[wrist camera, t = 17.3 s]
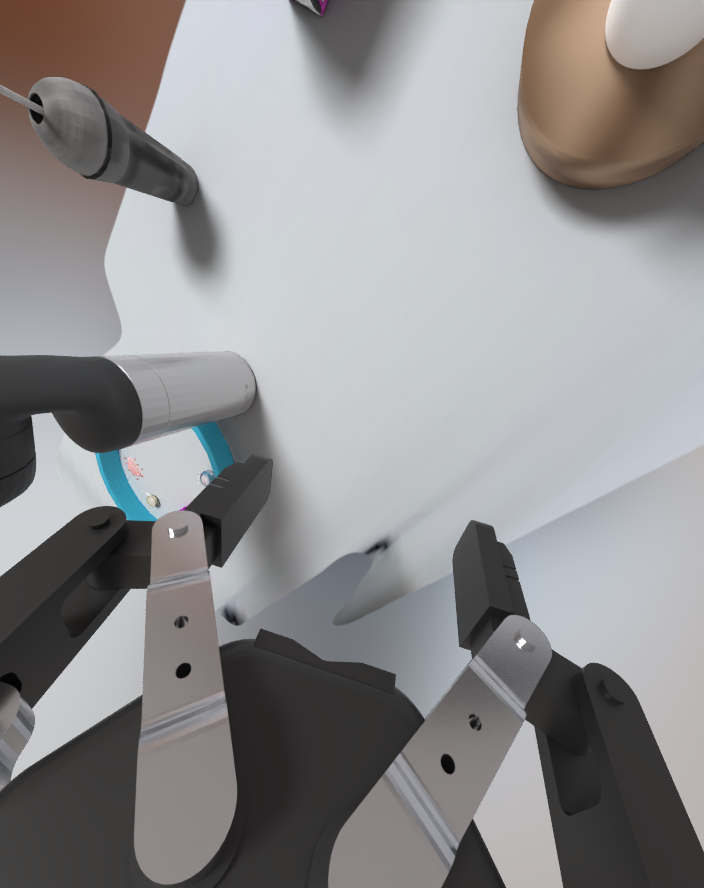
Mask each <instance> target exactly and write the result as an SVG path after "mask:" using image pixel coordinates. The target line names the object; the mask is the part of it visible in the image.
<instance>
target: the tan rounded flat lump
mask: <svg viewBox="0 0 704 888" xmlns="http://www.w3.org/2000/svg"><path fill="white" fill-rule="evenodd" d="M610 2H611V0H534V3H533V6H532V9H531V13H530V17H529V20H528V24H527V28H526V35H525V41H524V47H523V56H522V65H521V74H520V82H519V91H518V107H517V111H518V124H519V129H520V134H521V138H522V141H523V143H524V146H525V149H526V151H527V152H528V154H529V156H530V158H531V159H532V161H533V162H534V163H535V164H536V165H537V167H538V168H539V169H540V170H541V171H542V172H544V173H545V174H546V175H547V176H549V177H550V178H552V179H554V180H555V181H557V182H559V183H562V184H565V185H567V186H570V187H575V188H581V189H596V190H597V189H608V188H615V187H619V186H624V185H628V184H631V183H634V182H637V181H640V180H643V179H645V178H648V177H650V176H652V175H654V174H656V173H659V172H661V171H662V170H664V169H666V168H668V167H669V166H671V165H673V164H675V163H676V162H678V161H679V160H681V159H682V158H684V157H685V156H687V155H688V154H689V153H691V152H692V151H694V150H695V149H696V148H697V147H699V146H700V145H701V144H702V143H703V142H704V38H703V39H702V40H701V41H700V42H699V43H698V44H697V45H696V46H694V47H693V48H692V49H691V50H689V51H688V52H686V53H685V54H684V55H682V56H680V57H679V58H677V59H675V60H673V61H671V62H669V63H667V64H665V65H662V66H659V67H655V68H651V69H632V68H628V67H625V66H623V65H621V64H620V63H618V62H617V61H616V60H615V59H614V58H613V56H612V55H611V53H610V51H609V49H608V47H607V43H606V37H605V25H606V18H607V13H608V9H609V6H610Z"/></svg>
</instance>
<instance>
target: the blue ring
mask: <svg viewBox="0 0 704 888" xmlns="http://www.w3.org/2000/svg"><path fill="white" fill-rule="evenodd" d="M192 429H193V431H194V432H195V433H196V435H197V437H198V438H199V440H200V442H201V444H202V445H203V447H204V449H205V451H206V452H207V454H208V457H209V460H210V463H211V466H212V469H213V471H214V472H213V471H210V470H207V471H204V472H203V473H202V474H201V476H200V474H199V473H198V478H199V477H200V478H199V479H198V481H199V483H200V480H201V482H202V484H203V485H205V486H208V485H210V483H211V482H212V481H213V480H214V479H215V478H217V476H218V475H219V474H220V473H221V471H222V470H223V469H224V468H226V467H228V466H230V465H232V464H234V461H233V458H232V455H231V452H230V449H229V446H228V444H227V442H226V440H225V439H224V437H223V435H222V433H221V432H220V430H219V428H218V426H217V424H216V423H215V422H211V423H208V424H204V425H201V426H197V427H194V428H192ZM95 455H96V459H97V462H98V466H99V470H100V473H101V476H102V478H103V480H104V483H105V485H106V488H107V490H108V492H109V494H110V495H111V497H112V499H113V500H114V502H115V504H116V505H117V507H118V508H119V509H121V510H123V511H124V512H125V514H126V518H127V520H135V521H157V519H156V518H155V517H154V516H153V515H151V514H150V513H149V511H148V510H147V509H146V508H145V507H144V505H143V504H142V503H141V502H140V501H139V499H138V498H137V496H136V495H135V493H134V491H133V490H132V488H131V486H130V485H129V483H128V480H127V478H126V475H125V473H124V470H123V468H122V465H121V461H120V456H119V452H118V450H115V451H111V452H107V453H95ZM125 458H126V457H124V459H125ZM127 460H128V464H129V465H128V468H129V471H131V473H132V475H133V476H134V475H136V476H140V474H141V473H140V471H139V469H138V468H137V466H136V465H138V464H136V465H135V463H134V462H133V460H132V459H131V458H128V459H127ZM134 460H135V458H134ZM125 464H127V463H125ZM141 470H142V468H141ZM141 477H143V475H141ZM137 480H138V478H137ZM199 485H200V484H199ZM147 494H148V493H147ZM148 495H149V496H147V503H148V504H149V505H150V506H152V507H153V506H155V505H156V504H157V497H155V496H153V495H150V494H148ZM191 502H192V501H191ZM185 508H186V507H184V508H183V509H180V510H179V511H183V510H184V509H185Z"/></svg>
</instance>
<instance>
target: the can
mask: <svg viewBox="0 0 704 888" xmlns="http://www.w3.org/2000/svg"><path fill="white" fill-rule="evenodd" d="M605 37H606V43H607V47H608V49H609V51H610V53H611V55H612V56H613V58H614V59H615V60H616V61H617V62H618V63H620V64H621V65H623V66H625V67H628V68H632V69H651V68H655V67H659V66H662V65H665V64H667V63H669V62H671V61H673V60H675V59H677V58H679V57H680V56H682V55H684V54H685V53H686V52H688V51H689V50H691V49H692V48H693V47H694V46H696V45H697V44H698V43H699V42H700V41H701V40H702V39H703V38H704V0H611V2H610V6H609V9H608V13H607V18H606V25H605Z"/></svg>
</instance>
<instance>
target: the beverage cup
mask: <svg viewBox="0 0 704 888" xmlns="http://www.w3.org/2000/svg"><path fill="white" fill-rule="evenodd" d="M0 93H1V94H3V95H5V96H7V97H9V98H11V99H13V100H15V101H17V102H19V103H21V104H22V105H24V106H26V107H28V112H29V117H30V120H31V123H32V125H33V128H34V130H35V132H36V133H37V135H38V137H39V139H40V140H41V141H42V142H43V144H44V145H45V146H46V147H47V149H48V150H49V151H50V152H51V153H52V155H53V156H55V158H57V159H58V160H59V161H60V162H62V163H63V164H65V165H66V166H67V167H69V168H70V169H72V170H74V171H75V172H77V173H79V174H80V175H82V176H83V177H85V178H86V179H93V180H99V181H104V182H110V183H115V184H118V185H121V186H124V187H127V188H130V189H133V190H136V191H139V192H142V193H146V194H149V195H152V196H155V197H158V198H161V199H164V200H167V201H170V202H175V203H179V204H182V205H188V204H190V203H191V202H192V201H193V200H194V198H195V197H196V193H197V186H198V182H197V177H196V174H195V172H194V170H193V169H192V167H191V166H190V165H188V164H187V163H186V162H184V161H183V160H182V159H181V158H180V157H178V156H177V155H176V154H174V153H173V152H171V151H170V150H169V149H167V148H166V147H164V146H163V145H162V144H160V143H159V142H158V141H156V140H155V139H153V138H152V137H151V136H149V135H148V134H146V133H145V132H144V131H142V130H141V129H139V128H138V127H137V126H135V125H134V124H133V123H131V122H130V121H128V120H127V119H125V118H124V117H123V116H121V115H120V114H119V113H118V112H117V111H116V110H115V109H114V108H113V107H112V106H111V105H110V104H108V103H107V102H106V101H105V100H104V99H102V98H101V97H99V96H98V94H97V93H96V92H95V91H94V90H92V89H91V88H89V87H88V86H85V85H81V84H79V83H77V82H75V81H73V80H70V79H67V78H61V77H47V78H44V79H41V80H40V81H39V82H37V83H36V84H34V85H33V87H32V89H31V90H30V92H29V96H28V99H25V98H24V97H22V96H20V95H18V94H16V93H14V92H13V91H11V90H9V89H7V88H5V87H3V86H1V85H0Z"/></svg>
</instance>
